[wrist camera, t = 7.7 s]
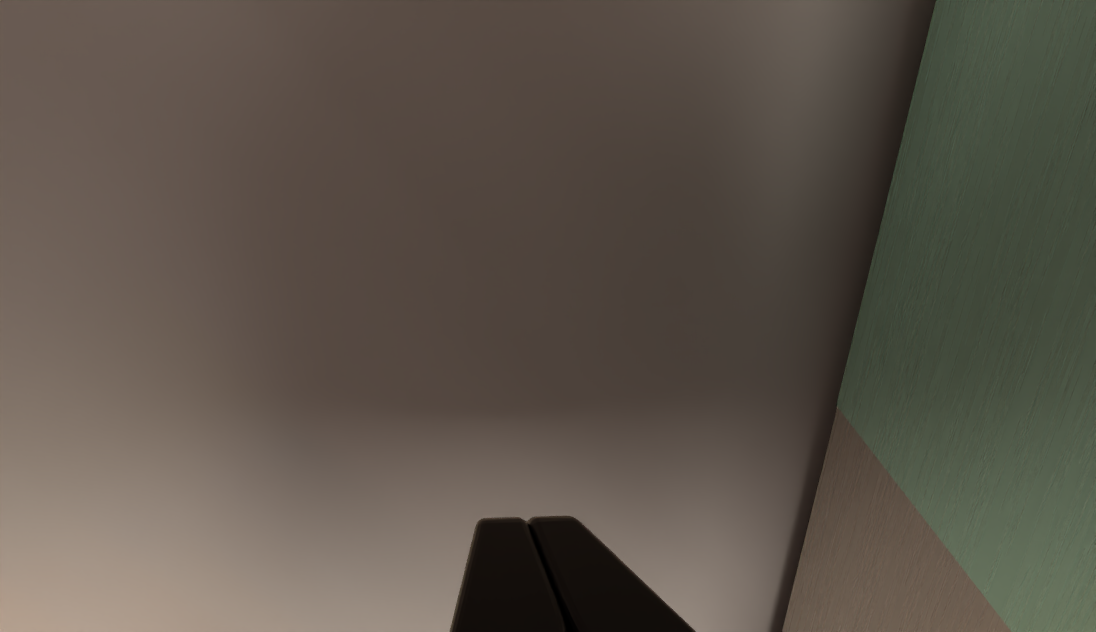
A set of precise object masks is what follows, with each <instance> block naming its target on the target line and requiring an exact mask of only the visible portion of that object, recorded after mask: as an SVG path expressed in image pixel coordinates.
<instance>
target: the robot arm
mask: <svg viewBox="0 0 1096 632" xmlns="http://www.w3.org/2000/svg"><path fill="white" fill-rule="evenodd" d="M450 632H696V631H695V630H694V629H693V628H692V627H690V626H689V625H688V624H687V623H686V622H685V621H684V620H683V619H682V618H681V617H680V616H679V615H678V614H677V613H676V612H675V611H674V610H673V609H672V608H670V607H669V606H668V605H667V604H666V603H665V602H664V601H663V600H662V599H661V598H660V597H659V596H658V595H657V594H656V593H655V592H654V591H653V590H652V589H651V588H649V587H648V586H647V585H646V584H645V583H644V582H643V581H642V580H641V579H640V578H639V577H638V576H637V575H636V574H635V573H634V572H633V571H632V570H631V569H630V568H628V567H627V566H626V565H625V564H624V563H623V562H622V561H621V560H620V559H619V558H618V557H617V556H616V555H615V554H614V553H613V552H612V551H611V550H610V549H609V548H607V547H606V546H605V545H604V544H603V543H602V542H601V541H600V540H599V539H598V538H597V537H596V536H595V535H594V534H593V533H592V532H591V531H590V530H589V529H588V528H586V527H585V526H584V525H583V524H582V523H581V522H580V521H579V520H578V519H576V518H574V517H571V516H541V517H532V518H531V519H529V520H528V521H527V522H526V521H525V520H523V519H521V518H519V517H505V518H483V519H481V520H479V521H478V522H477V524H476V527H475V531H474V535H473V539H472V543H471V547H470V551H469V555H468V559H467V563H466V567H465V571H464V575H463V579H462V584H461V588H460V592H459V596H458V600H457V604H456V608H455V612H454V616H453V620H452V624H451V628H450Z"/></svg>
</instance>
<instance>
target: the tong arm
mask: <svg viewBox="0 0 1096 632" xmlns="http://www.w3.org/2000/svg"><path fill="white" fill-rule="evenodd" d="M836 406H837V411H836V415H835V419H834V423H833V427H832V431H831V435H830V439H829V443H828V447H827V451H826V455H825V459H824V463H823V468H822V472H821V476H820V480H819V484H818V488H817V492H816V496H815V500H814V504H813V508H812V512H811V516H810V520H809V524H808V528H807V532H806V536H805V540H804V544H803V548H802V552H801V556H800V560H799V564H798V568H797V572H796V576H795V580H794V584H793V588H792V593H791V597H790V601H789V605H788V609H787V613H786V617H785V621H784V625H783V629H782V632H1096V0H936V3H935V7H934V11H933V15H932V19H931V23H930V27H929V31H928V36H927V40H926V44H925V48H924V52H923V56H922V60H921V64H920V68H919V72H918V76H917V80H916V84H915V88H914V92H913V96H912V100H911V104H910V108H909V112H908V117H907V121H906V125H905V129H904V133H903V137H902V141H901V145H900V149H899V153H898V157H897V161H896V165H895V169H894V173H893V177H892V181H891V185H890V189H889V193H888V197H887V202H886V206H885V210H884V214H883V218H882V222H881V226H880V230H879V234H878V238H877V242H876V246H875V250H874V254H873V258H872V262H871V266H870V270H869V274H868V278H867V282H866V287H865V291H864V295H863V299H862V303H861V307H860V311H859V315H858V319H857V323H856V327H855V331H854V335H853V339H852V343H851V347H850V351H849V355H848V359H847V363H846V368H845V372H844V376H843V380H842V384H841V388H840V392H839V396H838V400H837V404H836Z"/></svg>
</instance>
